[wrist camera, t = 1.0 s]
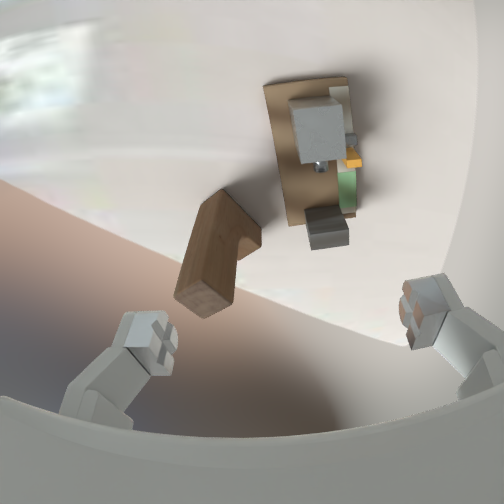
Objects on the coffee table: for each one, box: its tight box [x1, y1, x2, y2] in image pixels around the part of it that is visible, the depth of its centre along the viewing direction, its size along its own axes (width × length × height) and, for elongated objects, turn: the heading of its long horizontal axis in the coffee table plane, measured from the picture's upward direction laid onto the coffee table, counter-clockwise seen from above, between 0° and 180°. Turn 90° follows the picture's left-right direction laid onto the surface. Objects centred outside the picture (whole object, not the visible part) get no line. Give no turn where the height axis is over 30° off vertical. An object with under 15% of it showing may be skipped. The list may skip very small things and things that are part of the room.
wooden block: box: [174, 189, 262, 319], centre depth 37 cm, size 9×4×18 cm, turn 39°
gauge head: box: [288, 95, 357, 173], centre depth 31 cm, size 8×8×6 cm
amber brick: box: [342, 147, 362, 168], centre depth 33 cm, size 1×2×4 cm, turn 101°
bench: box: [263, 77, 357, 250], centre depth 34 cm, size 20×10×8 cm, turn 12°
